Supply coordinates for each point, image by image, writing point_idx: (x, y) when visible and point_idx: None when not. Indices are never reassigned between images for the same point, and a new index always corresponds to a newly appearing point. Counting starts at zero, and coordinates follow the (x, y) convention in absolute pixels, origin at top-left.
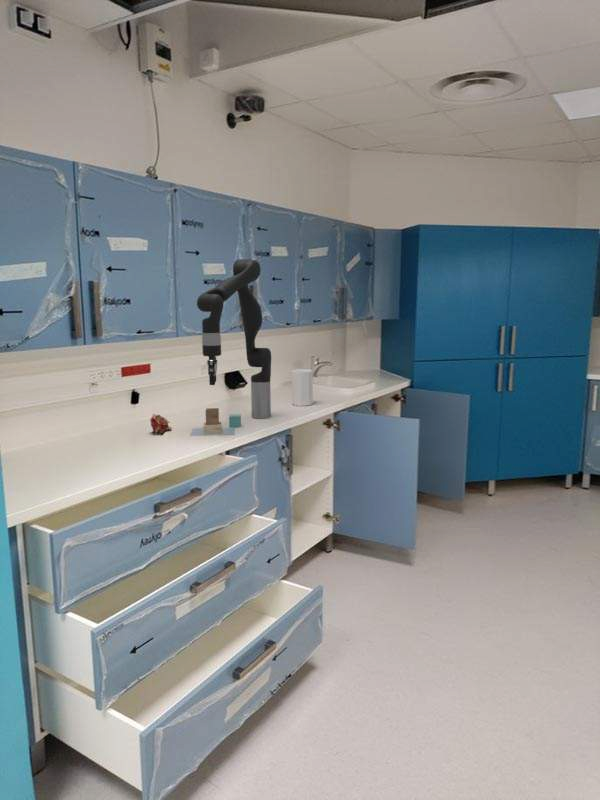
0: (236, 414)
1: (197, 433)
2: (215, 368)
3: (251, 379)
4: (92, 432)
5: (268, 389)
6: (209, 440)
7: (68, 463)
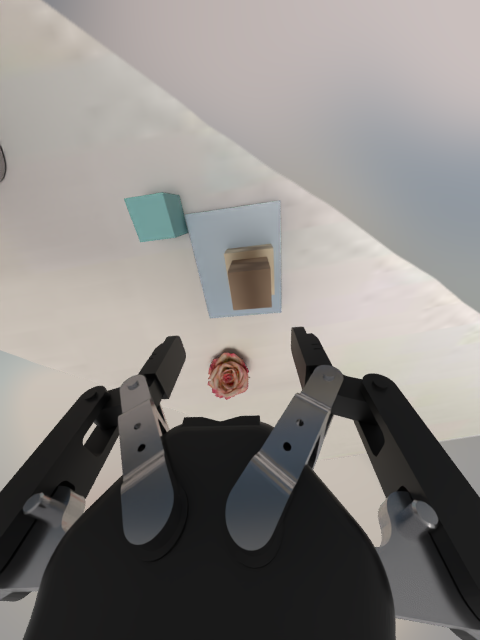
0: (133, 215)
1: None
2: (325, 421)
3: None
4: None
5: None
6: (302, 265)
7: None
